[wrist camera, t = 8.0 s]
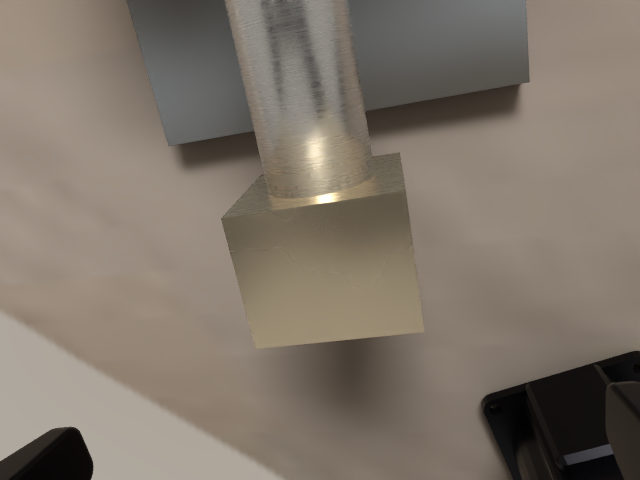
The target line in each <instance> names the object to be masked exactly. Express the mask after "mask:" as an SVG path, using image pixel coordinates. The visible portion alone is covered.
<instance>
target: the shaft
mask: <svg viewBox="0 0 640 480" xmlns="http://www.w3.org/2000/svg"><path fill="white" fill-rule="evenodd" d="M224 1H225V5H226V10H227V14H228V18H229V23H230V27H231V31H232V36H233V40H234V45H235V49H236V53H237V58H238V62H239V67H240V71H241V75H242V80H243V84H244V88H245V93H246V97H247V102H248V106H249V110H250V115H251V119H252V124H253V128H254V132H255V137H256V141H257V146H258V150H259V154H260V159H261V163H262V167H263V172H264V174H263V175H261V176H260V177H259V178H258V179H257V180H256V181H255V183H254V184H253V185H252V186H251V187H250V188H249V189H248V190H247V191H246V192H245V193H244V194H243V195H242V197H241V198H240V199H239V200H238V201H237V202H236V203H235V204H234V205H233V206H232V207H231V208H230V209H229V211H228V212H227V213H226V214H225V215H224V216H223V217H222V218H221V220H222V224H223V227H224V231H225V235H226V239H227V243H228V246H229V250H230V254H231V258H232V261H233V265H234V269H235V273H236V276H237V280H238V284H239V288H240V292H241V295H242V299H243V303H244V307H245V310H246V314H247V318H248V322H249V326H250V329H251V333H252V337H253V341H254V344H255V348H256V349H261V348H271V347H281V346H291V345H301V344H311V343H321V342H331V341H341V340H351V339H361V338H371V337H381V336H391V335H401V334H411V333H421V332H424V324H423V317H422V309H421V302H420V294H419V287H418V279H417V272H416V264H415V257H414V249H413V242H412V234H411V227H410V219H409V212H408V205H407V197H406V190H405V183H404V177H403V171H402V164H401V158H400V153H394V154H387V155H381V156H375V157H372V152H371V146H370V139H369V133H368V126H367V120H366V113H365V106H364V100H363V93H362V87H361V80H360V74H359V67H358V61H357V54H356V48H355V41H354V35H353V28H352V21H351V15H350V8H349V2H348V0H224Z"/></svg>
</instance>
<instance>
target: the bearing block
mask: <svg viewBox="0 0 640 480" xmlns="http://www.w3.org/2000/svg"><path fill="white" fill-rule="evenodd" d="M348 2H349V8H350V15H351V21H352V28H353V35H354V41H355V48H356V54H357V61H358V67H359V74H360V80H361V87H362V93H363V100H364V106H365V111H369V110H375V109H380V108H386V107H392V106H397V105H403V104H409V103H414V102H420V101H426V100H431V99H437V98H442V97H448V96H454V95H459V94H465V93H471V92H476V91H482V90H488V89H493V88H499V87H504V86H510V85H516V84H521V83H527V82H530V80H529V58H528V36H527V14H526V0H348ZM127 3H128V6H129V10H130V13H131V17H132V20H133V24H134V27H135V31H136V34H137V38H138V41H139V45H140V48H141V52H142V55H143V59H144V62H145V66H146V69H147V72H148V76H149V79H150V83H151V86H152V90H153V93H154V97H155V100H156V104H157V107H158V111H159V114H160V118H161V121H162V125H163V128H164V132H165V135H166V139H167V142H168V146H172V145H178V144H183V143H189V142H194V141H200V140H206V139H211V138H217V137H223V136H228V135H234V134H240V133H245V132H251V131H254V128H253V124H252V119H251V115H250V110H249V106H248V102H247V97H246V93H245V88H244V84H243V80H242V75H241V71H240V67H239V62H238V58H237V53H236V49H235V45H234V40H233V36H232V31H231V27H230V23H229V18H228V14H227V10H226V5H225V1H224V0H127Z"/></svg>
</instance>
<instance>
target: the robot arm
mask: <svg viewBox="0 0 640 480" xmlns="http://www.w3.org/2000/svg"><path fill="white" fill-rule="evenodd" d="M637 363H640V351H633V352H629V353H626V354H622V355H619V356H615V357H612V358H609V359H605V360H602V361H599V362H595V363H592V364H589V365H585V366H582V367H578V368H575V369H572V370H568V371H565V372H562V373H558V374H555V375H552V376H548V377H545V378H541V379H538V380H535V381H531V382H528V383H525V384H521V385H518V386H515V387H511V388H508V389H504V390H501V391H498V392H494V393H491V394H489V395H487V396H485V397H484V399H483V401H482V406H483V410H484V414H485V416H486V418H487V420H488V423H489V425H490V427H491V429H492V431H493V434H494V436H495V438H496V440H497V443H498V445H499V447H500V449H501V452H502V454H503V456H504V458H505V461H506V463H507V465H508V467H509V470H510V472H511V474H512V476H513V479H514V480H640V366H639V367H636V368H633V367H634V365H635V364H637ZM497 404H498V405H500V406H499V407H497V408H491V406H493V405H497ZM92 474H93V461H92V458H91V456H90V454H89V451H88V449H87V446H86V444H85V442H84V440H83V437H82V435H81V433H80V431H79V430H78V429H76V428H74V427H64V428H55V429H52V430H50V431H48V432H47V433H45V434H43V435H42V436H40V437H39V438H37V439H35V440H34V441H32V442H31V443H29V444H27V445H26V446H24V447H23V448H21V449H19V450H18V451H16V452H15V453H13V454H11V455H10V456H8V457H7V458H5V459H3V460H2V461H0V480H91V478H92Z"/></svg>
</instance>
